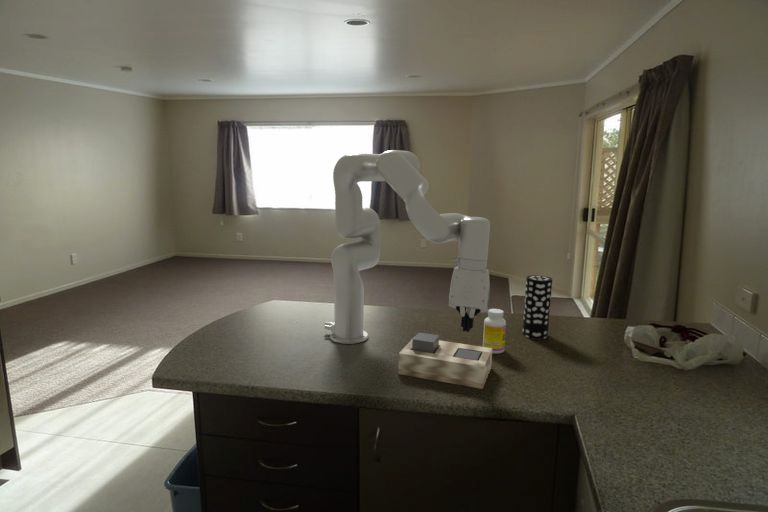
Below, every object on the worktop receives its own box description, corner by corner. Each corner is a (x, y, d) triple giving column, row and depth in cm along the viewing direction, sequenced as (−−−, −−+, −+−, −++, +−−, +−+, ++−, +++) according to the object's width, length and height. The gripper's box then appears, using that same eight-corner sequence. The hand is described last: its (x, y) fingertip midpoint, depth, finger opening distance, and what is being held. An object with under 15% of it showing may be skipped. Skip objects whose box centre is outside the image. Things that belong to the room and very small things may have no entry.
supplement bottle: (504, 355, 145) (507, 314, 143) (482, 353, 147) (484, 313, 144) (503, 347, 152) (506, 308, 149) (482, 345, 153) (484, 307, 151)
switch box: (398, 373, 131) (398, 353, 130) (414, 355, 144) (414, 336, 143) (482, 388, 123) (483, 367, 122) (491, 368, 136) (492, 348, 135)
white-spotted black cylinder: (552, 336, 162) (557, 279, 159) (536, 341, 158) (541, 282, 154) (532, 329, 169) (537, 274, 166) (517, 333, 165) (521, 277, 161)
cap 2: (453, 370, 129) (454, 356, 128) (458, 362, 135) (459, 348, 134) (476, 374, 127) (476, 360, 126) (480, 365, 133) (480, 352, 132)
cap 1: (412, 352, 133) (412, 339, 132) (418, 345, 138) (418, 332, 138) (432, 356, 131) (433, 342, 130) (438, 348, 136) (439, 335, 136)
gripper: (440, 263, 125) (436, 329, 129) (498, 270, 120) (492, 339, 123) (447, 258, 132) (443, 321, 135) (502, 264, 126) (496, 330, 130)
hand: (466, 329), depth 129 cm, fingers closed
